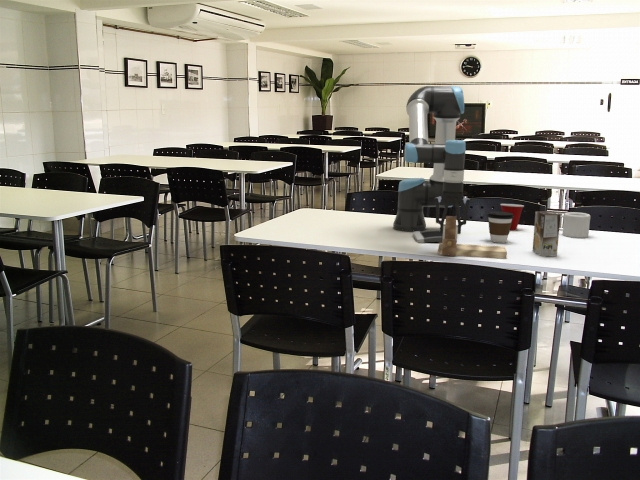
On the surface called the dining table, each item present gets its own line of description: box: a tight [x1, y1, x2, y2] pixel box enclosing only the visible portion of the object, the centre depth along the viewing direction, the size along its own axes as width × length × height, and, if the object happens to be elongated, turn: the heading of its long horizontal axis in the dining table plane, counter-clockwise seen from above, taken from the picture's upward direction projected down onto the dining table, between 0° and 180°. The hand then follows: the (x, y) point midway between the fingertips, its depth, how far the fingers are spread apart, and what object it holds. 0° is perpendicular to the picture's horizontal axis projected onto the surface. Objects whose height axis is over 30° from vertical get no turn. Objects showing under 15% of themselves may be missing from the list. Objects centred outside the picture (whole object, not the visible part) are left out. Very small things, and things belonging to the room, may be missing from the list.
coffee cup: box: [486, 210, 514, 244], centre depth 259 cm, size 11×11×12 cm
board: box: [437, 242, 508, 259], centre depth 235 cm, size 25×10×3 cm, turn 77°
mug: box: [559, 211, 591, 239], centre depth 274 cm, size 14×11×10 cm
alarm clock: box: [412, 229, 443, 244], centre depth 262 cm, size 17×5×16 cm
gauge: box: [442, 215, 458, 257], centre depth 235 cm, size 5×14×14 cm, turn 167°
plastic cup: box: [499, 203, 525, 231], centre depth 287 cm, size 11×11×12 cm
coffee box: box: [532, 210, 562, 257], centre depth 236 cm, size 9×6×16 cm
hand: (449, 241), depth 237 cm, fingers closed on gauge, 4 cm apart
